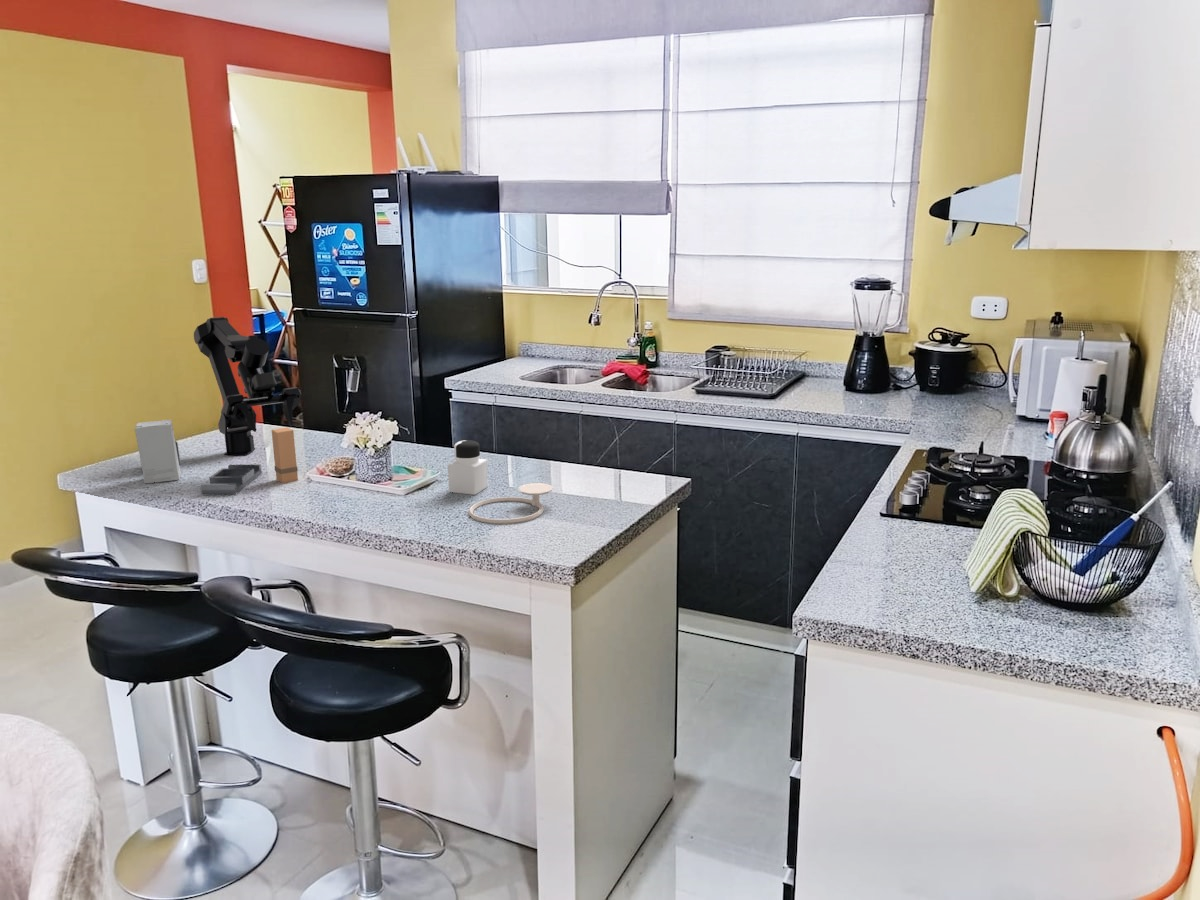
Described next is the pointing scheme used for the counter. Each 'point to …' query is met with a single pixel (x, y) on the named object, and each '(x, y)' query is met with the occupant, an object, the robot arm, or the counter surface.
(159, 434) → the skincare box
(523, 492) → the hand towel holder
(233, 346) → the robot arm
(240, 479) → the dark grey holder base
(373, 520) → the counter surface
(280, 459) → the tan tall block
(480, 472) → the medicine bottle
